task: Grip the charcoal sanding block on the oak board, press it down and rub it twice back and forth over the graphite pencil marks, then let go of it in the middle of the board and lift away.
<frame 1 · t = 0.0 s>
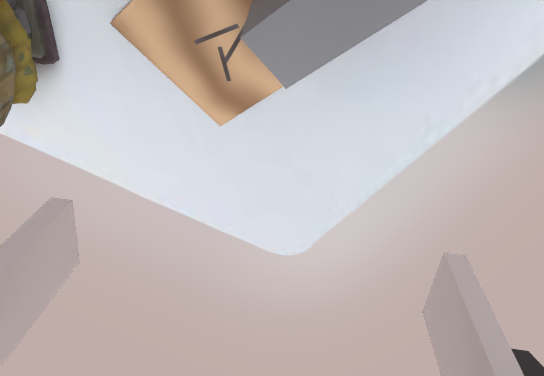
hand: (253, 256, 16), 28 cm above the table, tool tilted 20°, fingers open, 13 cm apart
oak board: (265, 0, 38), on the table
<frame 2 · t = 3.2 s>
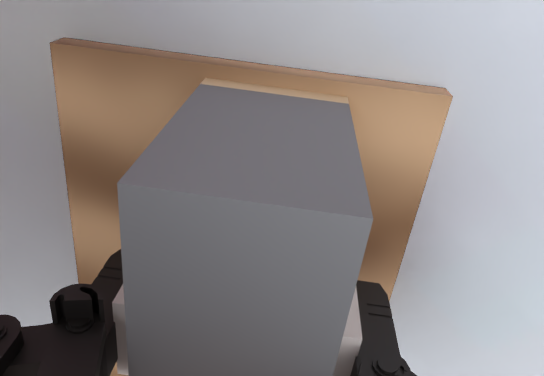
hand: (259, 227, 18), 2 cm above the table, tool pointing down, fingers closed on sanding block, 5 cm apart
sanding block: (260, 219, 18), point 1 cm above the table, touching gripper, oak board
oak board: (230, 308, 22), on the table
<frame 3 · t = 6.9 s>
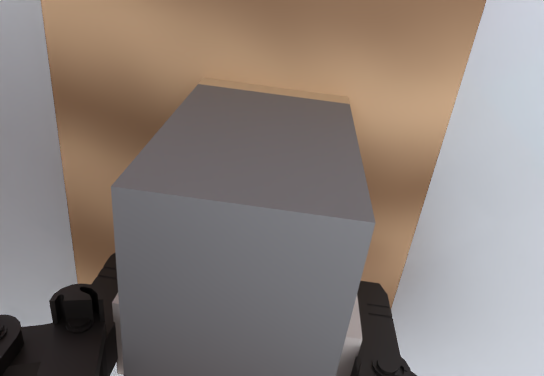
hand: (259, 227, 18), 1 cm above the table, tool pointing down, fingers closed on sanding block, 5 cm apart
sanding block: (260, 221, 18), point 1 cm above the table, touching gripper
oak board: (246, 141, 18), on the table
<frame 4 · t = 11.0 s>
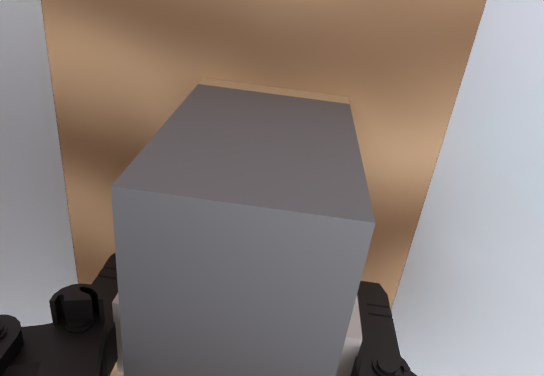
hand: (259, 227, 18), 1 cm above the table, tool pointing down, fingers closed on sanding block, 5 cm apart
sanding block: (260, 221, 18), point 1 cm above the table, touching gripper
oak board: (243, 178, 18), on the table
when the fingers open (2 cm above the table, at t = 11.8 s): sanding block stays where it is, resting on oak board.
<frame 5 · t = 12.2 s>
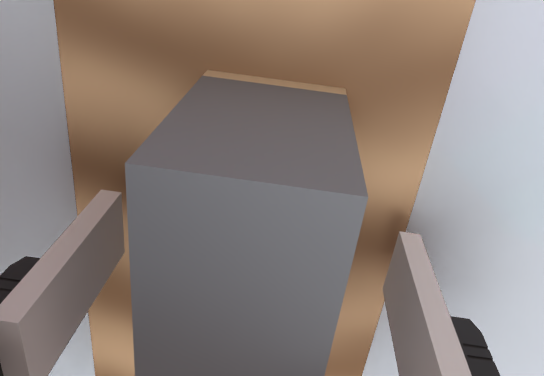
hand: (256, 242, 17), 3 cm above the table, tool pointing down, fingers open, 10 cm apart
sanding block: (260, 209, 19), point 1 cm above the table, touching oak board
oak board: (241, 197, 20), on the table
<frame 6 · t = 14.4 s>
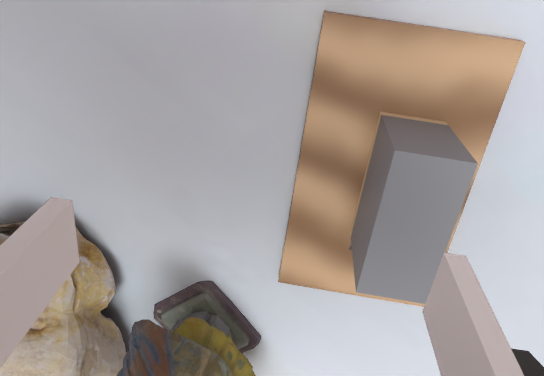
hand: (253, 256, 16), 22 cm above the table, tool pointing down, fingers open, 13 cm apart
statue: (194, 314, 47), on the table
stone: (81, 304, 48), on the table
sanding block: (394, 181, 37), point 1 cm above the table, touching oak board
oak board: (381, 175, 38), on the table
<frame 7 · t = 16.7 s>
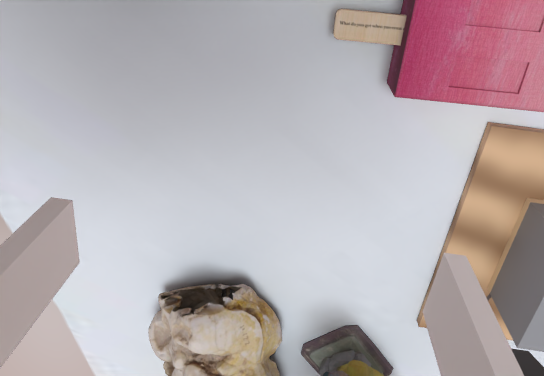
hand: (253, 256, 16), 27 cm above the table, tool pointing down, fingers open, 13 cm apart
statue: (336, 351, 55), on the table
stone: (240, 347, 57), on the table
sanding block: (531, 249, 45), point 1 cm above the table, touching oak board
oak board: (517, 243, 46), on the table
pink flat block: (453, 32, 38), on the table
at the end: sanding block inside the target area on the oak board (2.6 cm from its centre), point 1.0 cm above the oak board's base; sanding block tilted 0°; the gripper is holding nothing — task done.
